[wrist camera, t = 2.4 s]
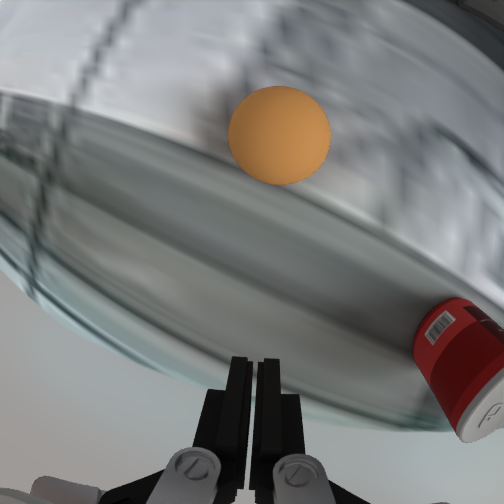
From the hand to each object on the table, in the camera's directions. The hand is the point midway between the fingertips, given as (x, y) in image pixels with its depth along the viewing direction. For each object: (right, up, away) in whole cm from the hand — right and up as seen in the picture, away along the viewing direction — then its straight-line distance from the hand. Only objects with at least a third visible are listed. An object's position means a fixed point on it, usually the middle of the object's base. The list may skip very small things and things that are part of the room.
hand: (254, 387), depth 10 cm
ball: (+2, +12, +6) cm, 13 cm away
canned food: (+18, -3, +12) cm, 22 cm away
